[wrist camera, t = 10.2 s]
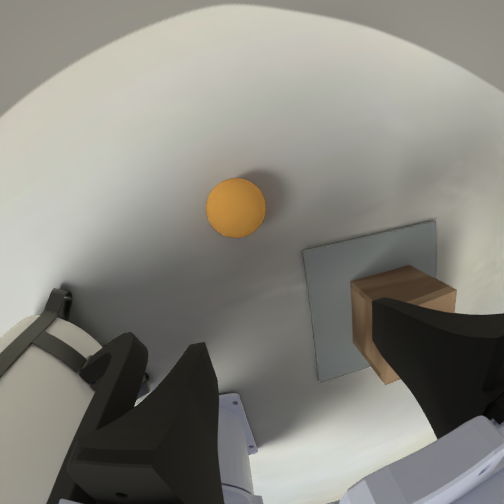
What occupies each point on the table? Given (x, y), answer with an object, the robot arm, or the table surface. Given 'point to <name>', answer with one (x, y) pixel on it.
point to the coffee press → (59, 399)
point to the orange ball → (236, 208)
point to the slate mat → (339, 291)
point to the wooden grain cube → (399, 288)
